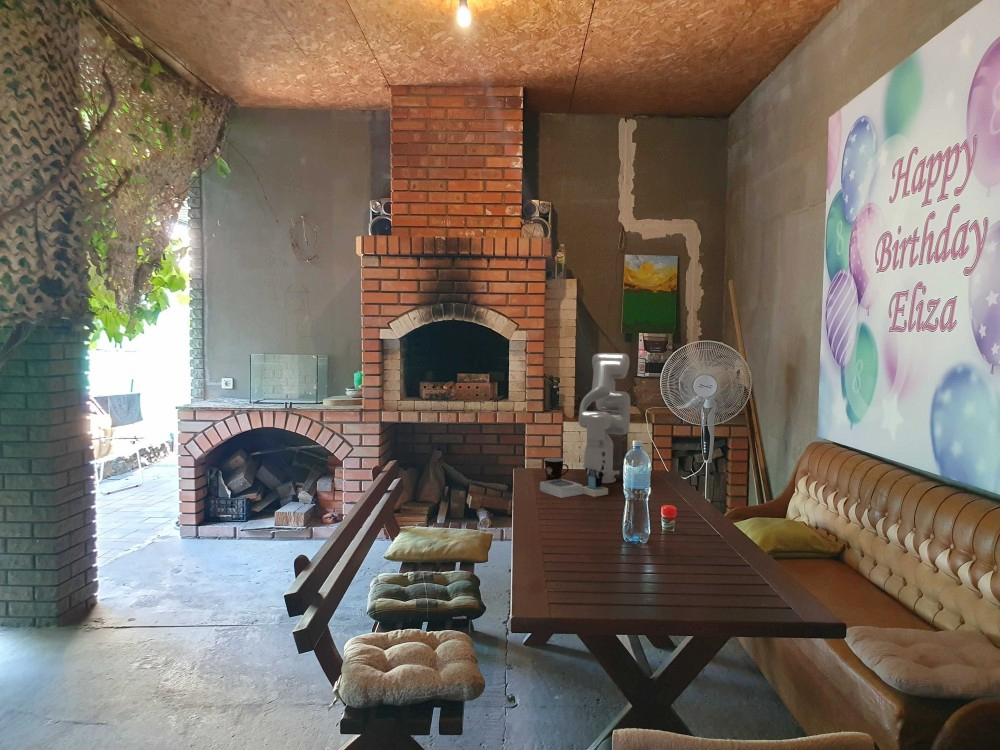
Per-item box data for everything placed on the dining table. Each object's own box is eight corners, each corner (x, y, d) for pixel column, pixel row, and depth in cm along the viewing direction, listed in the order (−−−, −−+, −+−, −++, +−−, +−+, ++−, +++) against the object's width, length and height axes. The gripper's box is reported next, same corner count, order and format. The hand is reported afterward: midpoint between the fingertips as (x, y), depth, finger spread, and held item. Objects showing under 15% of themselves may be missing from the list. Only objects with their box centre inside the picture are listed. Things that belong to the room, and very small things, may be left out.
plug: (594, 491, 275) (595, 468, 275) (601, 493, 272) (601, 469, 271) (588, 492, 273) (588, 469, 272) (594, 494, 270) (595, 471, 269)
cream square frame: (594, 490, 278) (595, 484, 278) (608, 494, 271) (608, 488, 271) (581, 492, 273) (581, 487, 273) (594, 496, 267) (594, 490, 266)
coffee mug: (540, 479, 297) (541, 458, 296) (556, 478, 300) (557, 457, 300) (553, 485, 286) (553, 463, 286) (569, 483, 290) (570, 461, 289)
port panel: (561, 487, 282) (561, 477, 282) (582, 494, 271) (582, 484, 271) (539, 491, 275) (540, 481, 275) (561, 498, 264) (561, 487, 264)
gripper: (616, 445, 266) (615, 488, 268) (588, 439, 280) (587, 480, 281) (603, 447, 262) (602, 491, 263) (575, 441, 276) (575, 482, 277)
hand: (594, 485), depth 272 cm, fingers closed on plug, 4 cm apart
